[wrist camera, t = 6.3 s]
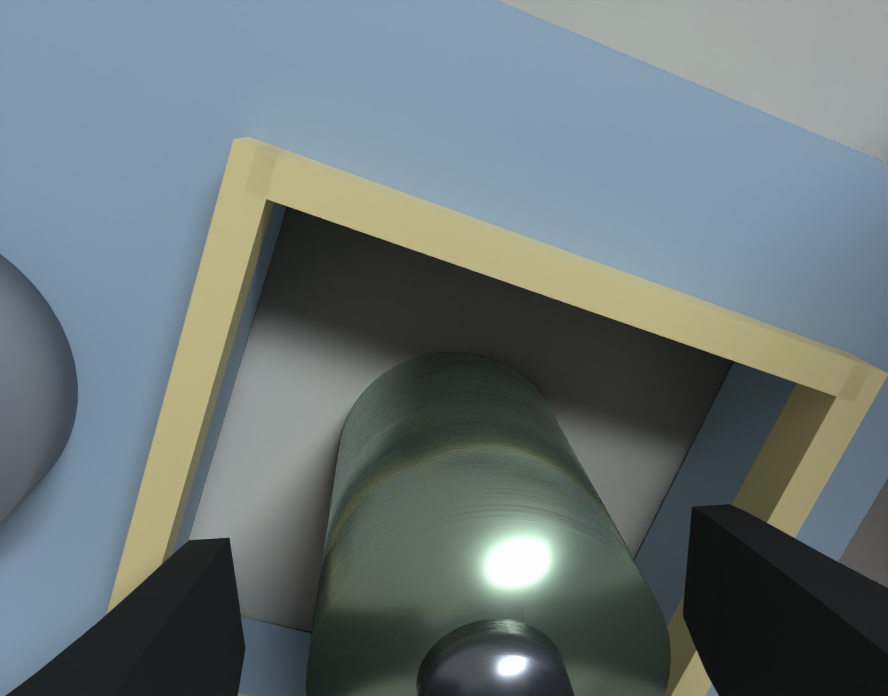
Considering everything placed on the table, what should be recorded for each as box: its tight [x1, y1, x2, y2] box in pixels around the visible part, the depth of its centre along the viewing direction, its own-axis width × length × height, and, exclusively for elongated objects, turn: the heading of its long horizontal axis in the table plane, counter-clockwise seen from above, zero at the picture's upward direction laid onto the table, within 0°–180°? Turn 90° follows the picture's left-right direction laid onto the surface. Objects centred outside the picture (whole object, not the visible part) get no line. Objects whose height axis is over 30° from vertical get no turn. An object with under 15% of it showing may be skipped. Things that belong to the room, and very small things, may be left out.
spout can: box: [306, 352, 671, 696], centre depth 11 cm, size 4×6×7 cm
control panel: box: [0, 0, 888, 696], centre depth 12 cm, size 20×16×4 cm
